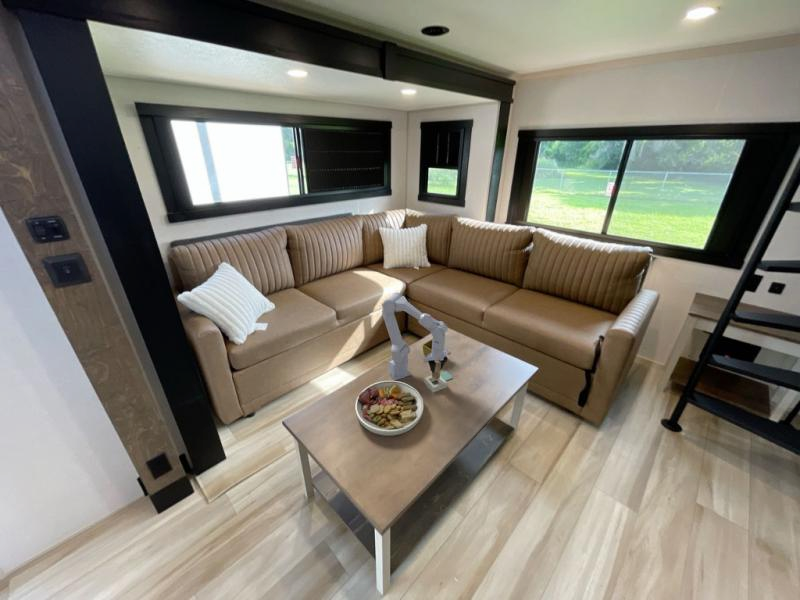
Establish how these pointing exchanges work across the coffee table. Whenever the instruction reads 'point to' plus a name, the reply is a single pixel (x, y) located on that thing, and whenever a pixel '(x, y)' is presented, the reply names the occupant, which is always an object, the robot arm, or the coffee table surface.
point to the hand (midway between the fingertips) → (436, 370)
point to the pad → (446, 375)
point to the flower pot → (427, 348)
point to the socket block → (436, 387)
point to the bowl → (389, 407)
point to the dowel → (437, 370)
